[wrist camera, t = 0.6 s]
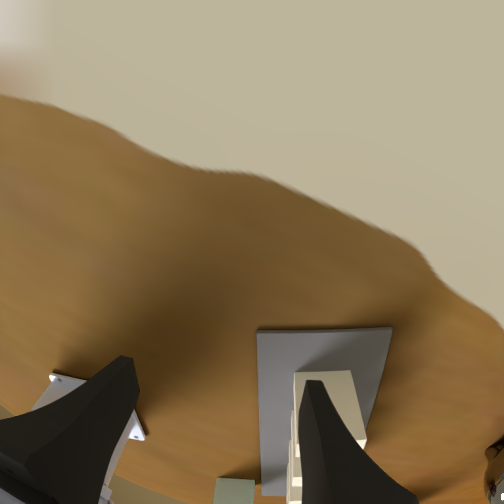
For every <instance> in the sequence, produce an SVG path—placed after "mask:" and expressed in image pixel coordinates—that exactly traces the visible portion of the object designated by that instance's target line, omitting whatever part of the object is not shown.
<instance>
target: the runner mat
mask: <svg viewBox="0 0 504 504" xmlns="http://www.w3.org/2000/svg"><path fill="white" fill-rule="evenodd" d="M392 331H393V329H392V327H377V328H357V329H330V330H257V363H258V394H259V424H260V455H261V487H262V496H287V465H288V463H289V442H290V439H291V416H292V410H294V372H322V371H345V370H351V374H352V378H353V382H354V386H355V390H356V394H357V399H358V403H359V407H360V411H361V415H362V420H363V424H364V429H365V430H366V427H367V424H368V421H369V418H370V415H371V412H372V408H373V405H374V402H375V398H376V395H377V391H378V388H379V384H380V381H381V377H382V373H383V369H384V365H385V361H386V357H387V353H388V349H389V345H390V340H391V336H392Z"/></svg>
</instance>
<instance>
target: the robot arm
mask: <svg viewBox="0 0 504 504" xmlns="http://www.w3.org/2000/svg"><path fill="white" fill-rule="evenodd" d="M49 377H50V379H51V384H50V385H49V386H48V387H47V389H46V390H45V391H44V393H43V394H42V395H41V397H40V398H39V399H38V401H37V402H36V404H35V405H34V406H33V408H32V409H31V410H30V412H28V413H25V414H22V415H19V416H15V417H12V418H7V419H2V420H0V504H115V503H114V501H112V500H111V499H109V498H110V496H111V493H112V490H110V489H109V488H107V486H108V484H109V482H110V480H111V477H112V474H113V472H114V470H115V468H116V465H117V463H118V461H119V458H120V456H121V454H122V451H123V449H124V447H125V445H126V442H127V440H128V438H131V439H136V440H142V441H143V440H145V438H146V436H145V434H144V431H143V429H142V427H141V424H140V422H139V419H138V417H137V414H136V412H135V409H134V408H135V405H136V402H137V399H138V396H139V393H140V389H139V385H138V381H137V376H136V371H135V366H134V362H133V358H130V357H125V356H119V357H118V358H116V359H115V360H114V361H112V362H111V363H110V364H109V365H107V366H106V367H105V368H103V369H102V370H101V371H99V372H98V373H97V374H96V375H94V376H93V377H91V378H90V379H89V380H87V381H86V380H82V379H77V378H72V377H68V376H63V375H59V374H55V373H51V374H50V375H49ZM298 439H299V450H300V461H301V472H302V504H419V502H418V500H417V497H416V495H414V494H413V493H411V492H410V491H408V490H407V489H405V488H404V487H402V486H401V485H399V484H398V483H397V482H396V481H394V480H393V479H392V478H391V477H390V476H388V475H387V474H386V473H385V472H384V471H383V470H382V469H381V468H380V467H379V466H378V465H377V464H376V463H375V462H374V461H373V460H372V459H371V458H370V457H369V456H368V455H367V454H366V452H365V451H364V450H363V449H362V448H361V446H360V445H359V444H358V443H357V441H356V440H355V439H354V437H353V436H352V434H351V433H350V431H349V430H348V428H347V427H346V425H345V424H344V422H343V420H342V419H341V417H340V415H339V414H338V412H337V410H336V408H335V407H334V405H333V403H332V401H331V399H330V397H329V395H328V392H327V390H326V388H325V386H324V383H323V382H322V381H321V380H306V383H305V387H304V392H303V396H302V400H301V404H300V408H299V416H298Z"/></svg>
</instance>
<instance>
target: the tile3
mask: <svg viewBox="0 0 504 504" xmlns="http://www.w3.org/2000/svg"><path fill="white" fill-rule="evenodd" d="M289 504H302V486H292V449H291V439H290V442H289Z"/></svg>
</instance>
